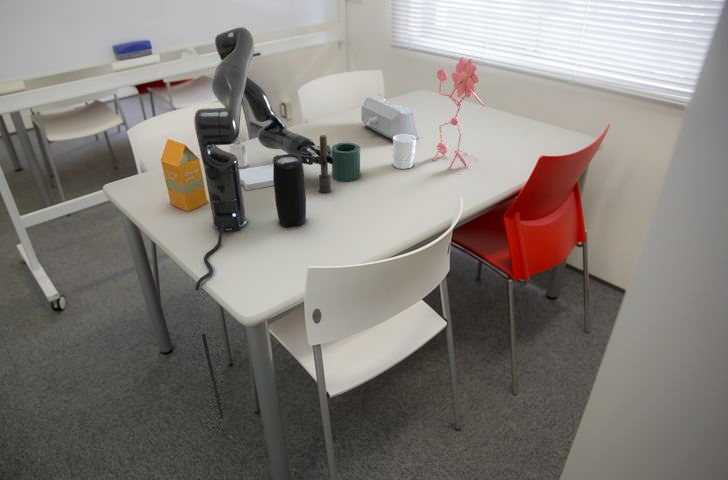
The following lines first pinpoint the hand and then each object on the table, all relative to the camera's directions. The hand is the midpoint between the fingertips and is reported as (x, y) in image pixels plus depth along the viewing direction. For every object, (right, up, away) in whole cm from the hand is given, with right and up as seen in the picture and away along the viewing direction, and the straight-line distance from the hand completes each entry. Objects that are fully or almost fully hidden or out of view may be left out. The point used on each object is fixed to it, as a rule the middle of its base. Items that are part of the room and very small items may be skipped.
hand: (329, 162), depth 156 cm
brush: (-2, -7, +8) cm, 11 cm away
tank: (+22, +22, +51) cm, 60 cm away
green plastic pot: (+5, -1, +18) cm, 19 cm away
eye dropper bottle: (-33, +4, +27) cm, 43 cm away
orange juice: (-44, -12, +3) cm, 46 cm away
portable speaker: (-11, -19, -8) cm, 23 cm away
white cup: (+26, +4, +24) cm, 35 cm away
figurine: (+46, +6, +26) cm, 53 cm away
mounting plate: (-24, -3, +17) cm, 29 cm away
